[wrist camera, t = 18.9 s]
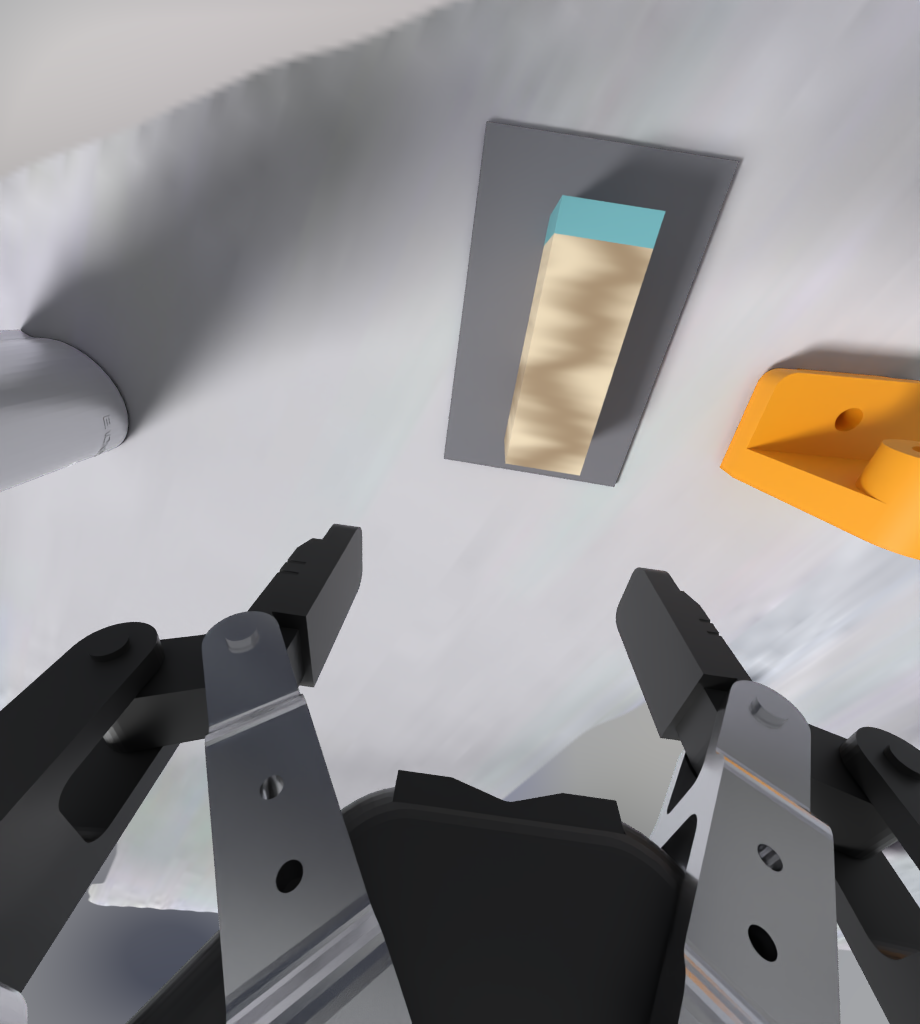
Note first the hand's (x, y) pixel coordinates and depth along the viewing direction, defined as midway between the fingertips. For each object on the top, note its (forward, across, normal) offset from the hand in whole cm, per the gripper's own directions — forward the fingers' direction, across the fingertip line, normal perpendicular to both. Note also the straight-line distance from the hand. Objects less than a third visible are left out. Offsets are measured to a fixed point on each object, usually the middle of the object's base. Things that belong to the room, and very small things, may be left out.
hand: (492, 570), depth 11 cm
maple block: (+17, -4, +2) cm, 18 cm away
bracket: (+20, -23, -2) cm, 31 cm away
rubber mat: (+20, -4, -5) cm, 21 cm away
